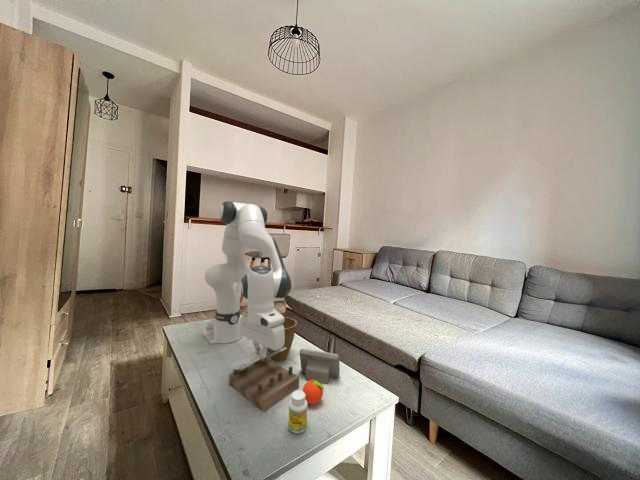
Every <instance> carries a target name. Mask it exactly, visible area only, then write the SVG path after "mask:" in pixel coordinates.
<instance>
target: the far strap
mask: <svg viewBox="0 0 640 480" xmlns="http://www.w3.org/2000/svg"><path fill="white" fill-rule="evenodd" d="M285 349H287V348H286V347H284V348H282V349H280V350H278V351H276V352H274V353H272V354H270V355H269V354H268V355H266V357H264V358H263V359H261V360H259V361H258V362H260V361H263V360H265V359H270V357H271V356H273V355H275V354H277V353H279V352H281V351H283V350H285Z"/></svg>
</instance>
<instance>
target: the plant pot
mask: <svg viewBox="0 0 640 480" xmlns="http://www.w3.org/2000/svg"><path fill="white" fill-rule="evenodd" d="M282 324H283V326H284V331H285V343H284V346H283V347H282V348H284V347H286V348H287V349H285V350H283V351H281V352H279V353H277V354H275V355H273V356H271V357H269V360H270V361H272V362H274V363H280V362H284V361H286V359H287V357H288V356H289V353H290V351H291V348H292V345H293V341H294V337H295V333H296V330H297V320H295V319H294V318H291V317H286V316H285V317H284V323H282ZM282 348H281V349H282ZM279 350H280V349H279ZM266 351H267V353H268V355H270V354H272V353H274V352H276V351H278V350H276V351H274V350H272V349H270V348H267V350H266Z"/></svg>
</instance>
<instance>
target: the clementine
mask: <svg viewBox="0 0 640 480" xmlns="http://www.w3.org/2000/svg"><path fill="white" fill-rule="evenodd" d="M302 391H303V392H304V393H305V400H306V401H307V404H311V405H315V404H317V403H319V402H320V401H321V400H322V398H323V395H324V392H325V393H326V390H325V388H324V386H323V385H322V383H319V382H318V381H316V380H310V381H309V380H307V382H305V384H304V385H303V388H302Z"/></svg>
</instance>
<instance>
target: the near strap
mask: <svg viewBox="0 0 640 480" xmlns="http://www.w3.org/2000/svg"><path fill="white" fill-rule="evenodd" d="M266 356H267V355H266ZM266 356H264V357H266ZM264 357H261V356H260V355H259V356H258V357H257V358H255V359H253V360H252V361H250V362H248V363H246V364H247V365H245V364H244V365H245V366H244V365H243V366H242V367H239V368H238V369H236V370H237V373H238V372H240V371H242V370H244V369H246V368H247V367H249V366H251V365H253V364H254V363H256V362H258V361H259V360H261V359H263V358H264Z"/></svg>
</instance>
